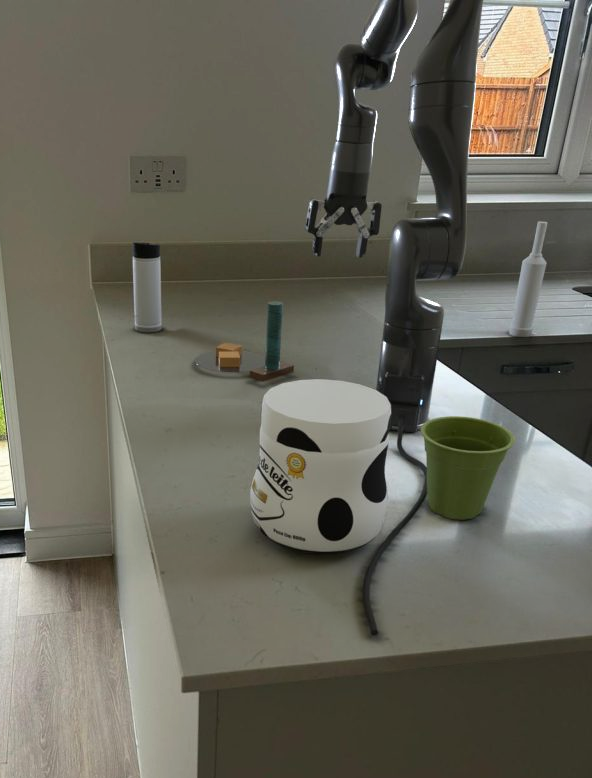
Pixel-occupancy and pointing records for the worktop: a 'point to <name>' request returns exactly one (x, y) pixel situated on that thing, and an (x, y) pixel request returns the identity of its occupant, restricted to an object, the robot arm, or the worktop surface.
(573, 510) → the worktop surface
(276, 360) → the peg on stand
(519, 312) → the bottle
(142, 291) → the travel mug
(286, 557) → the worktop surface
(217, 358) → the turntable plate
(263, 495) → the milk container
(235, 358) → the block
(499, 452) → the plant pot
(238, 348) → the crust
